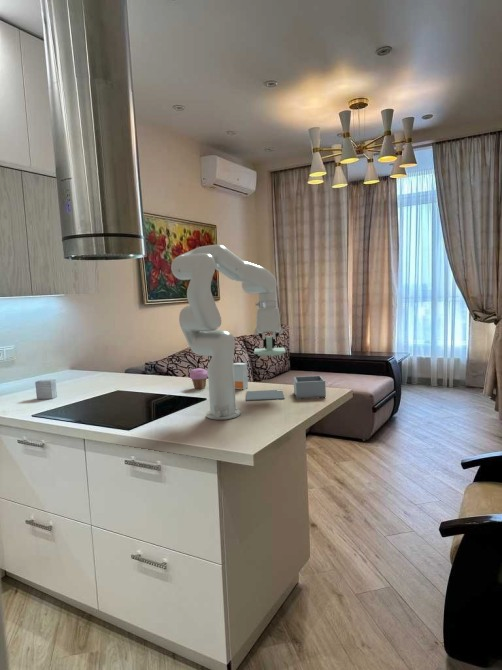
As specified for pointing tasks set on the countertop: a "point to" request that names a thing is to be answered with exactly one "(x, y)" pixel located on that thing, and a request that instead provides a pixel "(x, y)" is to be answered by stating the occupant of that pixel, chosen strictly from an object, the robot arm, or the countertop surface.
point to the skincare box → (240, 375)
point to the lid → (269, 349)
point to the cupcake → (199, 378)
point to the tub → (309, 387)
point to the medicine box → (46, 389)
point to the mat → (264, 395)
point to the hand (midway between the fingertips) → (269, 348)
